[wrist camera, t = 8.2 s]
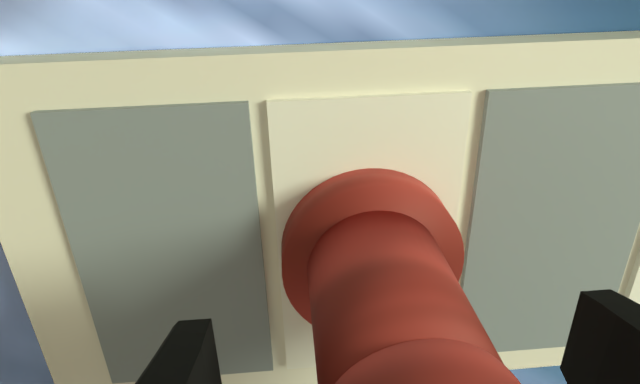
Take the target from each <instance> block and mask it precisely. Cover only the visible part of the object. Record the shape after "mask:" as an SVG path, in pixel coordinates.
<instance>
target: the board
mask: <svg viewBox="0 0 640 384" xmlns="http://www.w3.org/2000/svg"><path fill="white" fill-rule="evenodd" d="M367 168H382V169H390V170H395V171H399V172H402V173H405V174H408V175H410V176H412V177H414V178H416V179H418V180H420V181H421V182H423V183H424V184H425V185H427V186H428V187H429V188H430V189H432V191H433V192H434V193H435V194H436V195H437V196H438V197H439V199H440V200H441V202H442V203H443V205H444V206H445V208H446V209H447V211H448V212H449V214H450V215H451V217H452V218H453V220H454V221H455V223H456V224H457V227H458V229H459V231H460V233H461V236H462V240H463V245H464V265H463V269H462V274H461V276H460V279H459V284H460V286H461V288H462V289H463V291H464V293H465V295H466V297H467V298H468V300H469V302H470V304H471V306H472V307H473V309H474V311H475V313H476V315H477V316H478V318H479V320H480V322H481V324H482V325H483V327H484V329H485V331H486V333H487V335H488V336H489V338H490V340H491V342H492V344H493V345H494V347H495V349H496V351H497V353H498V354H499V356H500V358H501V360H502V362H503V363H504V365H505V366H506V367H507V368H508V369H509V370H510V369H522V368H534V367H546V366H558V365H561V362H562V358H563V355H564V351H565V347H566V343H567V340H568V336H569V332H570V329H571V325H572V321H573V317H574V314H575V310H576V306H577V303H578V299H579V295H580V291H592V290H606V289H611V290H613V291H615V292H617V293H619V294H621V295H623V296H625V297H627V298H629V299H631V300H633V301H635V302H637V303H638V304H640V31H618V32H593V33H568V34H543V35H518V36H493V37H468V38H443V39H418V40H393V41H368V42H343V43H318V44H293V45H268V46H243V47H218V48H193V49H168V50H143V51H118V52H93V53H68V54H43V55H18V56H0V242H1V245H2V247H3V250H4V253H5V255H6V258H7V261H8V263H9V266H10V269H11V271H12V274H13V276H14V279H15V282H16V284H17V287H18V290H19V292H20V295H21V297H22V300H23V303H24V305H25V308H26V311H27V313H28V316H29V318H30V321H31V324H32V326H33V329H34V332H35V334H36V337H37V339H38V342H39V345H40V347H41V350H42V353H43V355H44V358H45V360H46V363H47V366H48V368H49V371H50V374H51V376H52V379H53V381H54V384H135V383H136V381H137V380H138V378H139V377H140V376H141V374H142V373H143V371H144V370H145V368H146V367H147V365H148V364H149V362H150V361H151V359H152V358H153V357H154V355H155V354H156V352H157V351H158V349H159V347H160V346H161V344H162V343H163V341H164V340H165V338H166V337H167V335H168V334H169V332H170V331H171V329H172V327H173V326H174V325H175V324H176V323H177V322H178V321H182V320H195V319H209V318H211V320H212V326H213V332H214V338H215V344H216V350H217V357H218V363H219V369H220V375H221V381H222V384H318V382H317V372H316V361H315V351H314V340H313V330H312V324H310V323H309V322H308V321H306V320H305V319H304V318H303V317H302V316H301V315H300V314H299V313H298V312H297V311H296V310H295V308H294V307H293V306H292V304H291V303H290V301H289V299H288V297H287V295H286V292H285V289H284V286H283V280H282V257H281V242H282V236H283V231H284V228H285V225H286V222H287V220H288V218H289V216H290V214H291V213H292V211H293V210H294V208H295V207H296V205H297V204H298V203H299V202H300V201H301V199H302V198H303V197H304V196H305V195H306V194H307V193H309V192H310V191H311V190H312V189H313V188H315V187H316V186H318V185H319V184H321V183H322V182H324V181H326V180H328V179H330V178H332V177H334V176H337V175H339V174H342V173H345V172H349V171H353V170H358V169H367Z"/></svg>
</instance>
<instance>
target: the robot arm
mask: <svg viewBox="0 0 640 384" xmlns="http://www.w3.org/2000/svg"><path fill="white" fill-rule="evenodd" d="M560 369H561V371H562V373H563V375H564V378H565V380H566V382H567V384H640V304H638V303H637V302H635V301H633V300H631V299H629V298H627V297H625V296H623V295H621V294H619V293H617V292H615V291H613V290H611V289H606V290H592V291H580V295H579V299H578V303H577V306H576V310H575V314H574V317H573V321H572V325H571V329H570V332H569V336H568V340H567V343H566V347H565V351H564V355H563V358H562V362H561V366H560ZM135 384H222V381H221V375H220V369H219V363H218V357H217V350H216V344H215V338H214V332H213V326H212V320H211V318H209V319H195V320H182V321H178V322H177V323H176V324H175V325H174V326H173V327H172V329H171V331H170V332H169V334H168V335H167V337H166V338H165V340H164V341H163V343H162V344H161V346H160V347H159V349H158V351H157V352H156V354H155V355H154V357H153V358H152V359H151V361H150V362H149V364H148V365H147V367H146V368H145V370H144V371H143V373H142V374H141V376H140V377H139V378H138V380H137V381H136V383H135Z"/></svg>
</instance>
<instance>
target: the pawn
mask: <svg viewBox="0 0 640 384" xmlns="http://www.w3.org/2000/svg"><path fill="white" fill-rule="evenodd" d="M281 257H282V280H283V286H284V289H285V292H286V295H287V297H288V299H289V301H290V303H291V304H292V306H293V307H294V308H295V310H296V311H297V312H298V313H299V314H300V315H301V316H302V317H303V318H304V319H305V320H306V321H308V322H309V323H310V324H312V330H313V340H314V351H315V361H316V372H317V382H318V384H521V383H520V382H519V381H518V379H517V378H516V377H515V376H514V375H513V374H512V372H511V371H510V370H509V369H508V368H507V367H506V366H505V365H504V363H503V362H502V360H501V358H500V356H499V354H498V353H497V351H496V349H495V347H494V345H493V344H492V342H491V340H490V338H489V336H488V335H487V333H486V331H485V329H484V327H483V325H482V324H481V322H480V320H479V318H478V316H477V315H476V313H475V311H474V309H473V307H472V306H471V304H470V302H469V300H468V298H467V297H466V295H465V293H464V291H463V289H462V288H461V286H460V284H459V279H460V276H461V274H462V269H463V265H464V245H463V240H462V236H461V233H460V231H459V229H458V227H457V224H456V223H455V221H454V220H453V218H452V217H451V215H450V214H449V212H448V211H447V209H446V208H445V206H444V205H443V203H442V202H441V200H440V199H439V197H438V196H437V195H436V194H435V193H434V192H433V191H432V189H430V188H429V187H428V186H427V185H425V184H424V183H423V182H421V181H420V180H418V179H416V178H414V177H412V176H410V175H408V174H405V173H402V172H399V171H395V170H390V169H382V168H367V169H358V170H353V171H349V172H345V173H342V174H339V175H337V176H334V177H332V178H330V179H328V180H326V181H324V182H322V183H321V184H319V185H318V186H316V187H315V188H313V189H312V190H311V191H310V192H309V193H307V194H306V195H305V196H304V197H303V198H302V199H301V201H300V202H299V203H298V204H297V205H296V207H295V208H294V210H293V211H292V213H291V214H290V216H289V218H288V220H287V222H286V225H285V228H284V231H283V236H282V242H281Z"/></svg>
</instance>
